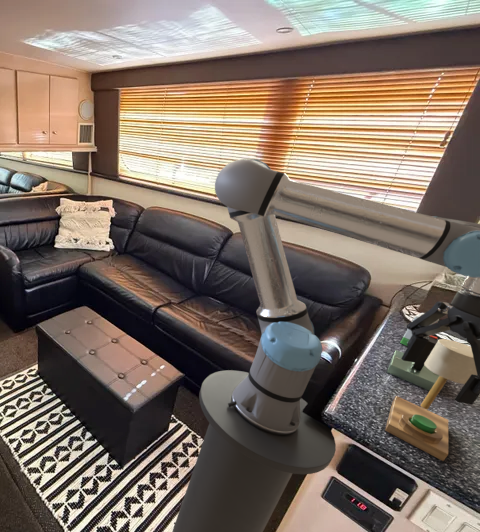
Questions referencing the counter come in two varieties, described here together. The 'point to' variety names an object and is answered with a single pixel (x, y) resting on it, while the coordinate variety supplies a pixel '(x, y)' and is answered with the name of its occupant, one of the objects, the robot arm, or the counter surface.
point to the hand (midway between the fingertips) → (433, 379)
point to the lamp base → (408, 432)
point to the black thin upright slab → (425, 353)
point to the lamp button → (423, 423)
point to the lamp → (449, 366)
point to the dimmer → (411, 372)
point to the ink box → (409, 332)
